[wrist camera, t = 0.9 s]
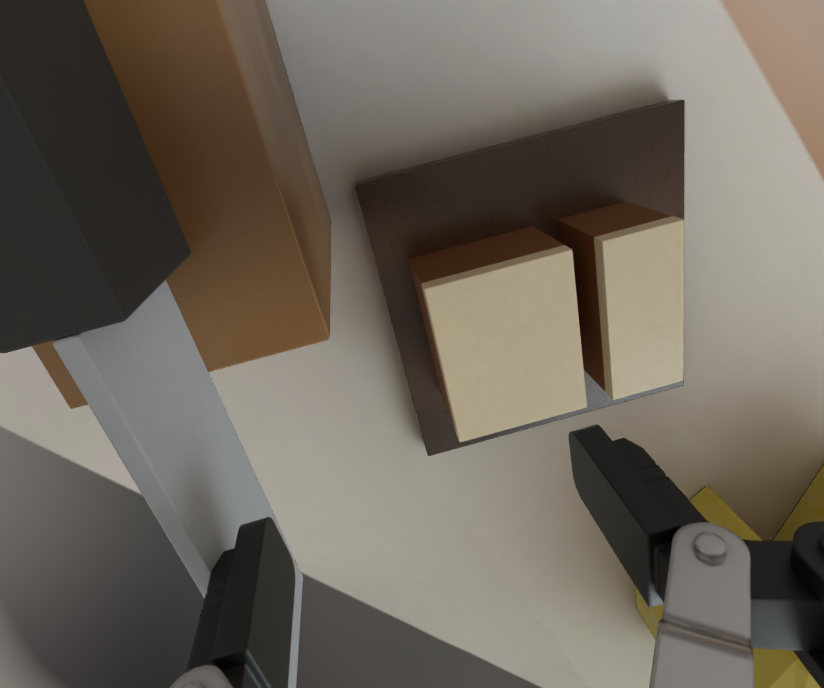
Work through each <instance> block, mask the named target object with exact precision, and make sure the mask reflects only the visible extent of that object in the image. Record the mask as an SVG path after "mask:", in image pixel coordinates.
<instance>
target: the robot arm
mask: <svg viewBox="0 0 824 688" xmlns="http://www.w3.org/2000/svg"><path fill="white" fill-rule="evenodd" d="M569 445H570V454H571V462H572V471H573V478H574V482H575V485H576V488H577V491H578V493H579V495H580V497H581V499H582V501H583V502H584V504H585V506H586V507H587V509H588V510H589V512H590V514H591V515H592V517H593V518H594V520H595V522H596V523H597V525H598V526H599V528H600V530H601V531H602V533H603V535H604V536H605V538H606V539H607V541H608V543H609V544H610V546H611V547H612V549H613V551H614V552H615V554H616V555H617V557H618V559H619V560H620V562H621V563H622V565H623V567H624V568H625V570H626V571H627V573H628V575H629V576H630V578H631V580H632V581H633V583H634V584H635V586H636V588H637V589H638V591H639V592H640V594H641V596H642V597H643V599H644V600H645V602H646V604H647V605H648V607H649V608H651V607H654V606H657V605H661V604H664V606H663V614H662V619H661V620H659V623H658V629H657V635H656V642H655V649H654V656H653V664H652V671H651V678H650V685H649V688H754V659H753V648H758V649H777V650H792V651H793V652H794V653H795V654H796V656H797V657H798V658H799V660H800V661H801V662H802V664H803V665H804V666H805V668H806V669H807V670H808V672H809V673H810V674H811V676H812V677H813V678H814V680H815V681H816V682H817V683H818V685H819V686H820V687H821V688H824V521H819V522H810V523H807V524H804V525H802V526H800V527H799V528H798V529H797V530H796V531H795V533H794V536H793V541H754V540H746V539H741V538H740V537H739V536H738V535H737V534H735V533H734V532H732V531H731V530H729V529H727V528H725V527H722V526H720V525H717V524H713V523H709V522H708V521H707V520H706V519H705V518H704V517H703V516H702V514H701V513H700V512H699V511H698V510H697V509H696V508H695V507H694V505H693V504H692V503H691V502H690V501H689V500H688V499H687V498H686V496H685V495H684V494H683V493H682V492H681V491H680V490H679V489H678V487H677V486H676V485H675V484H674V483H673V482H672V481H671V479H670V478H669V477H666V475H665V473H664V472H663V470H662V469H661V468H660V467H659V466H658V465H656V464H655V461H654V460H653V459H652V458H651V457H650V456H649V455H648V454H647V452H646V451H645V450H644V449H643V448H642V447H640V446H638V445H636V444H634V443H633V442H631V441H629V440H627V439H625V438H622V439H618V440H615V441H612V440H611V439H610V438H609V436H608V435H607V434H606V433H605V432H604V430H603V429H602V428H601V427H600V426H599V425H593V426H590V427H586V428H583V429H579V430H576V431H572V432H570V433H569ZM294 595H295V569H294V564H293V560H292V557H291V555H290V553H289V551H288V549H287V547H286V545H285V543H284V541H283V539H282V537H281V535H280V533H279V531H278V529H277V527H276V524H275V522H274V521H273V519H272V518H271V517H267V518H263V519H260V520H256V521H253V522H249V523H246V524H242V525H241V526H240V527H239V530H238V534H237V539H236V543H235V548H233V549H230V550H226V551H224V552H223V553H222V555H221V556H220V558H219V560H218V561H217V563H216V564H215V566H214V567H213V569H212V571H211V575H210V579H209V583H208V587H207V593H206V595H205V599H204V603H203V609H202V611H201V615H200V619H199V623H198V628H197V631H196V635H195V639H194V643H193V648H192V651H191V655H190V659H189V663H188V667H187V671H186V673H185V674H184V675H182V676H181V677H180V678H179V679H177V680H176V681H175V683H173V685H172V686H171V687H170V688H288V680H289V666H290V652H291V637H292V623H293V609H294Z"/></svg>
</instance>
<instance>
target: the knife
mask: <svg viewBox="0 0 824 688" xmlns="http://www.w3.org/2000/svg"><path fill="white" fill-rule="evenodd" d="M190 255H191V251H190V248H189V246H188V244H187V241H186V239H185V237H184V234H183V232H182V230H181V227H180V225H179V223H178V220H177V218H176V216H175V213H174V211H173V209H172V206H171V204H170V202H169V199H168V197H167V195H166V192H165V190H164V188H163V185H162V183H161V181H160V178H159V176H158V174H157V171H156V169H155V167H154V164H153V162H152V160H151V157H150V155H149V153H148V150H147V148H146V146H145V143H144V141H143V139H142V136H141V134H140V132H139V129H138V127H137V125H136V122H135V120H134V118H133V115H132V113H131V111H130V108H129V106H128V104H127V101H126V99H125V97H124V94H123V92H122V90H121V87H120V85H119V82H118V80H117V78H116V75H115V73H114V71H113V68H112V66H111V64H110V61H109V59H108V57H107V54H106V52H105V50H104V47H103V45H102V43H101V40H100V38H99V36H98V33H97V31H96V29H95V26H94V24H93V22H92V19H91V17H90V15H89V12H88V10H87V8H86V5H85V3H84V1H83V0H0V353H7V352H11V351H15V350H18V349H22V348H26V347H30V346H33V345H37V344H41V343H45V342H49V341H52V340H54V341H53V342H52V344H53V346H54V348H55V349H56V351H57V353H58V354H59V356H60V358H61V360H62V361H63V363H64V365H65V366H66V368H67V370H68V371H69V373H70V375H71V376H72V378H73V380H74V381H75V383H76V385H77V386H78V388H79V390H80V391H81V393H82V395H83V396H84V398H85V400H86V401H87V403H88V405H89V406H90V408H91V410H92V411H93V413H94V415H95V416H96V418H97V420H98V421H99V423H100V425H101V426H102V428H103V430H104V431H105V433H106V435H107V436H108V438H109V440H110V441H111V443H112V445H113V446H114V448H115V450H116V451H117V453H118V455H119V456H120V458H121V460H122V461H123V463H124V465H125V466H126V468H127V470H128V472H129V473H130V475H131V477H132V478H133V480H134V482H135V483H136V485H137V487H138V488H139V490H140V492H141V493H142V495H143V497H144V498H145V500H146V502H147V503H148V505H149V506H150V508H151V510H152V512H153V513H154V515H155V516H156V518H157V520H158V522H159V523H160V525H161V527H162V528H163V530H164V532H165V533H166V535H167V537H168V538H169V540H170V542H171V543H172V545H173V547H174V548H175V550H176V552H177V553H178V555H179V557H180V558H181V560H182V562H183V563H184V565H185V567H186V568H187V570H188V572H189V573H190V575H191V577H192V578H193V580H194V582H195V583H196V585H197V587H198V589H199V590H200V592H201V593H202V595H203V597H204V599H205V595H206V593H207V587H208V583H209V579H210V575H211V571H212V569H213V567H214V566H215V564H216V563H217V561H218V560H219V558H220V556H221V555H222V553H223V552H224V551H226V550H230V549H233V548H235V543H236V539H237V534H238V530H239V527H240V526H241V525H242V524H246V523H249V522H253V521H256V520H260V519H263V518H267V517H271V518H272V519H273V521H274V522H275V524H276V527H277V529H278V531H279V533H280V535H281V537H282V539H283V541H284V543H285V545H286V547H287V549H288V551H289V553H290V555H291V557H292V560H293V564H294V569H295V595H294V609H293V623H292V637H291V652H290V666H289V680H288V688H296V676H297V661H298V646H299V629H300V615H301V613H300V612H301V599H302V583H303V576H302V574H301V572H300V570H299V567H298V565H297V563H296V561H295V559H294V557H293V554H292V552H291V550H290V548H289V546H288V544H287V541H286V539H285V537H284V535H283V533H282V531H281V528H280V526H279V524H278V522H277V520H276V518H275V515H274V513H273V511H272V509H271V507H270V505H269V502H268V500H267V498H266V496H265V494H264V492H263V489H262V487H261V485H260V483H259V481H258V479H257V476H256V474H255V472H254V470H253V468H252V466H251V463H250V461H249V459H248V457H247V455H246V453H245V450H244V448H243V446H242V444H241V442H240V440H239V437H238V435H237V433H236V431H235V429H234V427H233V424H232V422H231V420H230V418H229V416H228V414H227V411H226V409H225V407H224V405H223V403H222V401H221V398H220V396H219V394H218V392H217V390H216V388H215V385H214V383H213V381H212V379H211V377H210V375H209V372H208V370H207V368H206V366H205V364H204V362H203V360H202V357H201V355H200V353H199V351H198V349H197V347H196V344H195V342H194V340H193V338H192V336H191V334H190V331H189V329H188V327H187V325H186V323H185V321H184V318H183V316H182V314H181V312H180V310H179V308H178V305H177V303H176V301H175V299H174V297H173V295H172V292H171V290H170V288H169V286H168V284H167V282H166V279H167V278H168V277H169V276H170V275H171V274H172V273H173V272H174V271H175V270H176V269H177V268H178V267H179V266H180V265H181V264H182V263H183V262H184V261H185V260H186V259H187V258H188V257H189V256H190Z"/></svg>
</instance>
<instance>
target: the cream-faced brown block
mask: <svg viewBox="0 0 824 688" xmlns="http://www.w3.org/2000/svg"><path fill="white" fill-rule="evenodd" d="M409 263H410V267H411V271H412V276H413V280H414V284H415V288H416V292H417V296H418V301H419V305H420V309H421V313H422V317H423V321H424V326H425V330H426V334H427V338H428V342H429V347H430V351H431V355H432V359H433V363H434V367H435V372H436V376H437V380H438V384H439V388H440V392H441V395H442V398H443V401H444V403H445V406H446V408H447V411H448V414H449V416H450V419H451V422H452V424H453V427H454V429H455V432H456V435H457V437H458V440H459V442H464V441H467V440H471V439H475V438H478V437H482V436H485V435H489V434H493V433H496V432H500V431H503V430H507V429H511V428H514V427H518V426H521V425H525V424H529V423H532V422H536V421H540V420H543V419H547V418H550V417H554V416H558V415H561V414H565V413H568V412H572V411H576V410H579V409H583V408H586V407H587V401H586V390H585V379H584V369H583V358H582V348H581V337H580V326H579V316H578V305H577V295H576V284H575V273H574V263H573V252H572V249H571V248H569V247H567V246H565V245H564V244H562V243H560V242H559V241H557V240H555V239H554V238H552V237H550V236H548V235H547V234H545V233H543V232H541V231H540V230H538V229H536V228H535V227H533V226H530V227H527V228H523V229H519V230H515V231H512V232H508V233H504V234H500V235H497V236H493V237H489V238H485V239H481V240H478V241H474V242H470V243H466V244H463V245H459V246H455V247H451V248H448V249H444V250H440V251H436V252H433V253H429V254H425V255H421V256H417V257H414V258H410V259H409Z"/></svg>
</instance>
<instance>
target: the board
mask: <svg viewBox="0 0 824 688" xmlns="http://www.w3.org/2000/svg"><path fill="white" fill-rule="evenodd" d="M355 187H356V191H357V194H358V198H359V202H360V206H361V209H362V213H363V217H364V220H365V224H366V228H367V232H368V235H369V239H370V243H371V246H372V250H373V254H374V258H375V261H376V265H377V269H378V272H379V276H380V280H381V284H382V287H383V291H384V295H385V298H386V302H387V306H388V310H389V313H390V317H391V321H392V324H393V328H394V332H395V336H396V339H397V343H398V347H399V351H400V354H401V358H402V362H403V365H404V369H405V373H406V377H407V380H408V384H409V388H410V391H411V395H412V399H413V403H414V406H415V410H416V414H417V417H418V421H419V425H420V429H421V432H422V436H423V440H424V443H425V447H426V451H427V454H428V456H431V455H435V454H438V453H442V452H445V451H449V450H453V449H456V448H460V447H463V446H467V445H471V444H474V443H478V442H481V441H485V440H489V439H492V438H496V437H499V436H503V435H507V434H510V433H514V432H517V431H521V430H525V429H528V428H532V427H535V426H539V425H543V424H546V423H550V422H553V421H557V420H561V419H564V418H568V417H571V416H575V415H579V414H582V413H586V412H589V411H593V410H597V409H600V408H604V407H607V406H611V405H615V404H618V403H622V402H625V401H629V400H633V399H636V398H640V397H643V396H647V395H651V394H654V393H658V392H661V391H665V390H669V389H672V388H676V387H679V386H683V384H684V360H683V381H680V382H677V383H673V384H670V385H666V386H662V387H659V388H655V389H651V390H648V391H644V392H641V393H637V394H633V395H630V396H626V397H623V398H619V399H615V400H612V398H611V397H610V396H609V395H608V394H607V393H606V392H605V391H604V390H603V389H602V388H601V387H600V386H599V385H598V384H597V383H596V382H595V381H594V380H593V379H592V378H591V377H590V376H589V375H588V374H587V373H586V371H585V370H584V379H585V390H586V401H587V407H586V408H583V409H579V410H576V411H572V412H568V413H565V414H561V415H558V416H554V417H550V418H547V419H543V420H540V421H536V422H532V423H529V424H525V425H521V426H518V427H514V428H511V429H507V430H503V431H500V432H496V433H493V434H489V435H485V436H482V437H478V438H475V439H471V440H467V441H464V442H459V440H458V437H457V435H456V432H455V429H454V427H453V424H452V422H451V419H450V416H449V414H448V411H447V408H446V406H445V403H444V401H443V398H442V395H441V392H440V388H439V384H438V380H437V376H436V372H435V367H434V363H433V359H432V355H431V351H430V347H429V342H428V338H427V334H426V330H425V326H424V321H423V317H422V313H421V309H420V305H419V301H418V296H417V292H416V288H415V284H414V280H413V276H412V271H411V267H410V263H409V259H410V258H414V257H417V256H421V255H425V254H429V253H433V252H436V251H440V250H444V249H448V248H451V247H455V246H459V245H463V244H466V243H470V242H474V241H478V240H481V239H485V238H489V237H493V236H497V235H500V234H504V233H508V232H512V231H515V230H519V229H523V228H527V227H530V226H533V227H535V228H536V229H538V230H540V231H541V232H543V233H545V234H547V235H548V236H550V237H552V238H554V239H555V240H557V241H559V242H560V240H559V230H558V221H557V220H558V219H561V218H565V217H568V216H572V215H576V214H580V213H583V212H587V211H591V210H595V209H598V208H602V207H606V206H610V205H613V204H617V203H621V202H625V201H626V202H629V203H632V204H635V205H639V206H642V207H645V208H648V209H651V210H655V211H658V212H661V213H664V214H668V215H671V216H674V217H677V218H681V219H684V100H668V101H665V102H661V103H657V104H653V105H649V106H645V107H641V108H638V109H634V110H630V111H626V112H622V113H618V114H615V115H611V116H607V117H603V118H599V119H595V120H591V121H588V122H584V123H580V124H576V125H572V126H568V127H565V128H561V129H557V130H553V131H549V132H545V133H542V134H538V135H534V136H530V137H526V138H522V139H518V140H515V141H511V142H507V143H503V144H499V145H495V146H492V147H488V148H484V149H480V150H476V151H472V152H468V153H465V154H461V155H457V156H453V157H449V158H445V159H442V160H438V161H434V162H430V163H426V164H422V165H418V166H415V167H411V168H407V169H403V170H399V171H395V172H392V173H388V174H384V175H380V176H376V177H372V178H368V179H365V180H361V181H357V182H355Z"/></svg>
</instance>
